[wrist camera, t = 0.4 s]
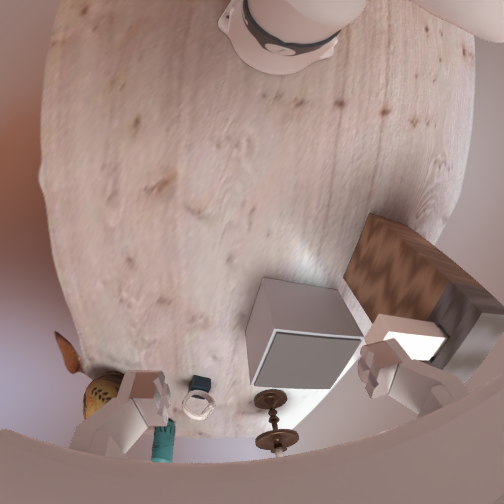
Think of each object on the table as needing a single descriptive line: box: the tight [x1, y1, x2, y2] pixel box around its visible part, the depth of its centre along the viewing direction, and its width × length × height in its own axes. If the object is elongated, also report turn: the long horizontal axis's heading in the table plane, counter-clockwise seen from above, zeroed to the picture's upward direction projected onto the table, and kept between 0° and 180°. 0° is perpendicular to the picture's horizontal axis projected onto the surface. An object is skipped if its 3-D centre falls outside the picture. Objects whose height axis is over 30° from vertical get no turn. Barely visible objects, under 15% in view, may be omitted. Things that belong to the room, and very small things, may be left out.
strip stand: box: [343, 213, 504, 384], centre depth 39 cm, size 14×10×31 cm
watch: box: [182, 375, 216, 421], centre depth 61 cm, size 6×8×11 cm
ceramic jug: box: [83, 372, 124, 420], centre depth 52 cm, size 17×15×30 cm
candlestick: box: [254, 389, 299, 457], centre depth 56 cm, size 11×11×35 cm
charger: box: [364, 314, 450, 360], centre depth 28 cm, size 4×16×3 cm, turn 75°
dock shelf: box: [245, 277, 364, 389], centre depth 51 cm, size 14×16×15 cm
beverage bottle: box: [151, 421, 175, 463], centre depth 66 cm, size 6×7×20 cm
